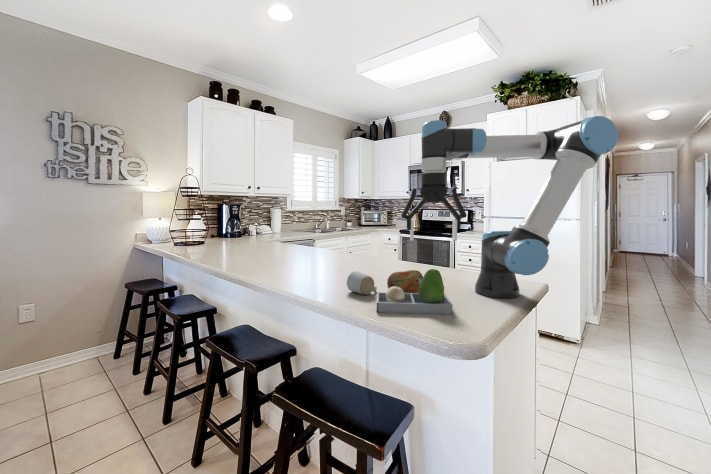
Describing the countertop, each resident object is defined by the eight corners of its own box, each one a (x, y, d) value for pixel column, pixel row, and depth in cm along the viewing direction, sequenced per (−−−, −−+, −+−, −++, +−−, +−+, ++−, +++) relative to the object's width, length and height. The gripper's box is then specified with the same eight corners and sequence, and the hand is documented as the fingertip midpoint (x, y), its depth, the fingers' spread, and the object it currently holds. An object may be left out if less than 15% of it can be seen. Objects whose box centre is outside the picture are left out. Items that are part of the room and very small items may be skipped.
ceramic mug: (360, 297, 115) (361, 276, 115) (346, 292, 121) (346, 272, 121) (381, 292, 122) (382, 272, 122) (366, 288, 128) (367, 269, 128)
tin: (390, 296, 117) (390, 273, 116) (385, 294, 120) (385, 271, 119) (423, 291, 124) (424, 269, 123) (418, 289, 126) (419, 268, 126)
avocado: (448, 307, 103) (450, 269, 102) (431, 311, 99) (432, 272, 97) (430, 300, 110) (431, 265, 108) (412, 304, 105) (413, 267, 104)
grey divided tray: (444, 302, 110) (444, 294, 109) (452, 314, 98) (452, 304, 98) (376, 300, 111) (377, 292, 111) (376, 312, 100) (376, 302, 99)
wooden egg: (403, 302, 108) (404, 284, 107) (405, 308, 102) (405, 289, 101) (385, 301, 108) (385, 284, 108) (385, 307, 102) (385, 288, 102)
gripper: (470, 173, 106) (468, 238, 108) (392, 174, 107) (393, 239, 109) (478, 170, 99) (476, 241, 101) (394, 172, 100) (394, 241, 102)
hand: (433, 240), depth 105 cm, fingers open, 13 cm apart
